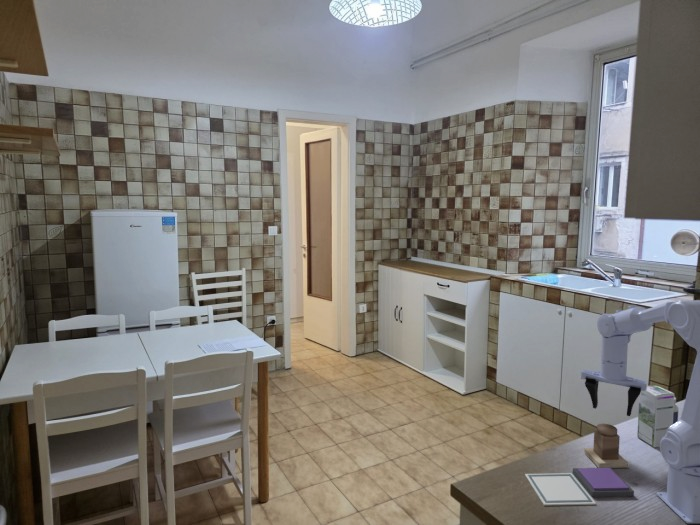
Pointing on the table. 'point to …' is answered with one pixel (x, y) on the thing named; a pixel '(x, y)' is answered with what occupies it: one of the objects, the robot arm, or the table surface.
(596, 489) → the ink pad
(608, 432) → the stamp
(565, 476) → the form card
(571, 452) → the table surface
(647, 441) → the syrup box
